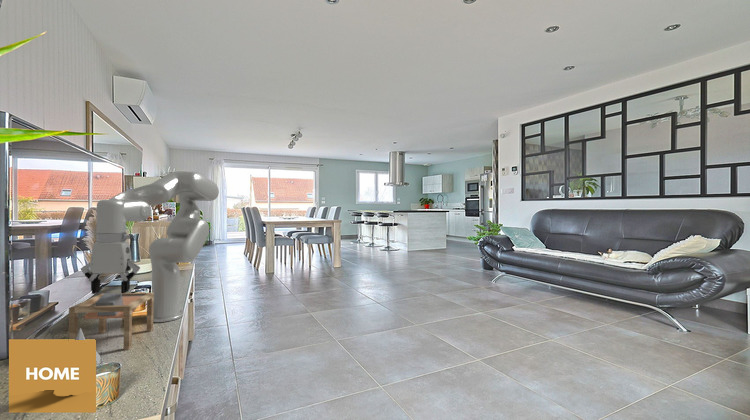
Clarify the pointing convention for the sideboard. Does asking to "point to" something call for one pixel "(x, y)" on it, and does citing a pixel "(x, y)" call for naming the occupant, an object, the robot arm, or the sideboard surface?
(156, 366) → the sideboard surface
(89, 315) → the trapdoor
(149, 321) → the frame
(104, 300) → the grey cube
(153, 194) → the robot arm
